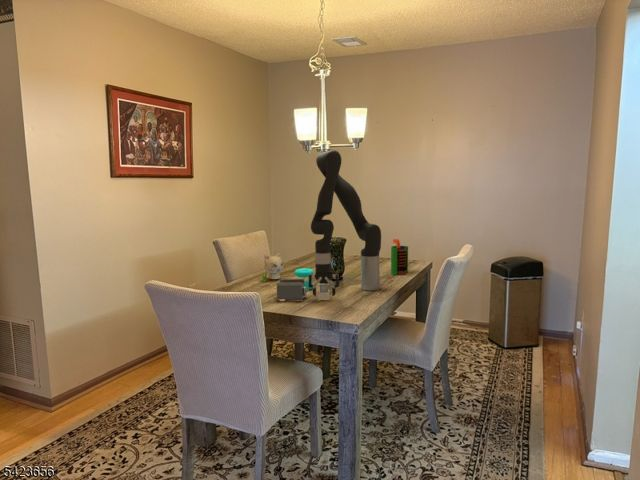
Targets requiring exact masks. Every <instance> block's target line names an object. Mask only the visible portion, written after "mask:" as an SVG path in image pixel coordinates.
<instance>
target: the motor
mask: <svg viewBox="0 0 640 480" xmlns="http://www.w3.org/2000/svg"><path fill="white" fill-rule="evenodd" d="M392 243H393V244H395V245H393V246H391V247H390V274H391V275H392V276H405V275H407V274H408V273H409V246H407V245H401V243H400V240H399V238H394V239H393V240H392Z"/></svg>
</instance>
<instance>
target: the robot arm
mask: <svg viewBox="0 0 640 480" xmlns="http://www.w3.org/2000/svg"><path fill="white" fill-rule="evenodd" d="M315 162H316V166H317V168H318V170H319V171H320V173H321V174H322V175H323V176H324V181H323V184H322V186H321V188H320V190H319V192H318V197H317V201H316V203H317V204H316V209H315V213H314V215H313V218H312V220H311V223H310V230H311V232H312V234H314V235H323V237H322V238H321V239H317V240H316V241H315V243H314V244H315V245H314V247H315V248H314V249H315V250H314V251H315V255H314V256H315V257H314V265H315V266H314V267H315V272H314V274H313V275H312V274H310V275H309V277H308V281H309V287H311V288H313V289H312V295H313V297H317V285H318V284H319V285H321V284H328V285H329V286H330V287H331V291H332V292H331V294H332V295H331V296H332V297H335V295H336V292H337V291H336V288H339V287H340V280H339V273H335V274H334V273H332V272H333V271H332V254H331V252H332V251H331V243H332V238H333V233H334V229H335V227H334V223H333V221H332V220H331V219H324V217H327V216H328V215H329V216H330V215H331V214H332V212H333V202H334V201H333V200H334V194H335V196H336V197H337V199H338V201H339V203H340V204H341V206H342V208H343V209H344V211H345V212H346V214H347V216H348V217H349V219H350V221H351V223H352V225H353V227H354V229H355V232H356V234H357V236H358V238H359V239H360V240H361V241H363V242H364V248H362V249H361V251H360V273H361V275H360V277H361V280H360V281H361V283H360V284H361V286H360V288H361V290H363V291H378V290H379V291H380V289H381V288H380V287H381V285H380V284H381V282H380V281H381V280H380V277H381V275H380V274H381V272H380V251H381V247H382V230H381V227H380V226H379V225H377V224H375V223H370V222H368V220H367V219H366V217H365V216H364V213H363V210H362V209H363V208H362V200H361V199H360V196H359V194H358V192H357V191H356V188H354V186H353V185H351V184H350V183H349V182H348V181H347V180H345V178H343V177H342V176H341V175H340V170H341V167H342V166H341V165H342V156H341V154H340V153H339V151H337V150H334V149H331V150H327V151H324V152H320V153H319V154H317V156H316V160H315ZM314 278H315V280H316V281H315V282H314V283H313V282H312V281H313V279H314ZM332 278H333V279H334V280H335V283H334V282H333V281H332ZM312 283H313V284H314V285H312Z"/></svg>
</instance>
